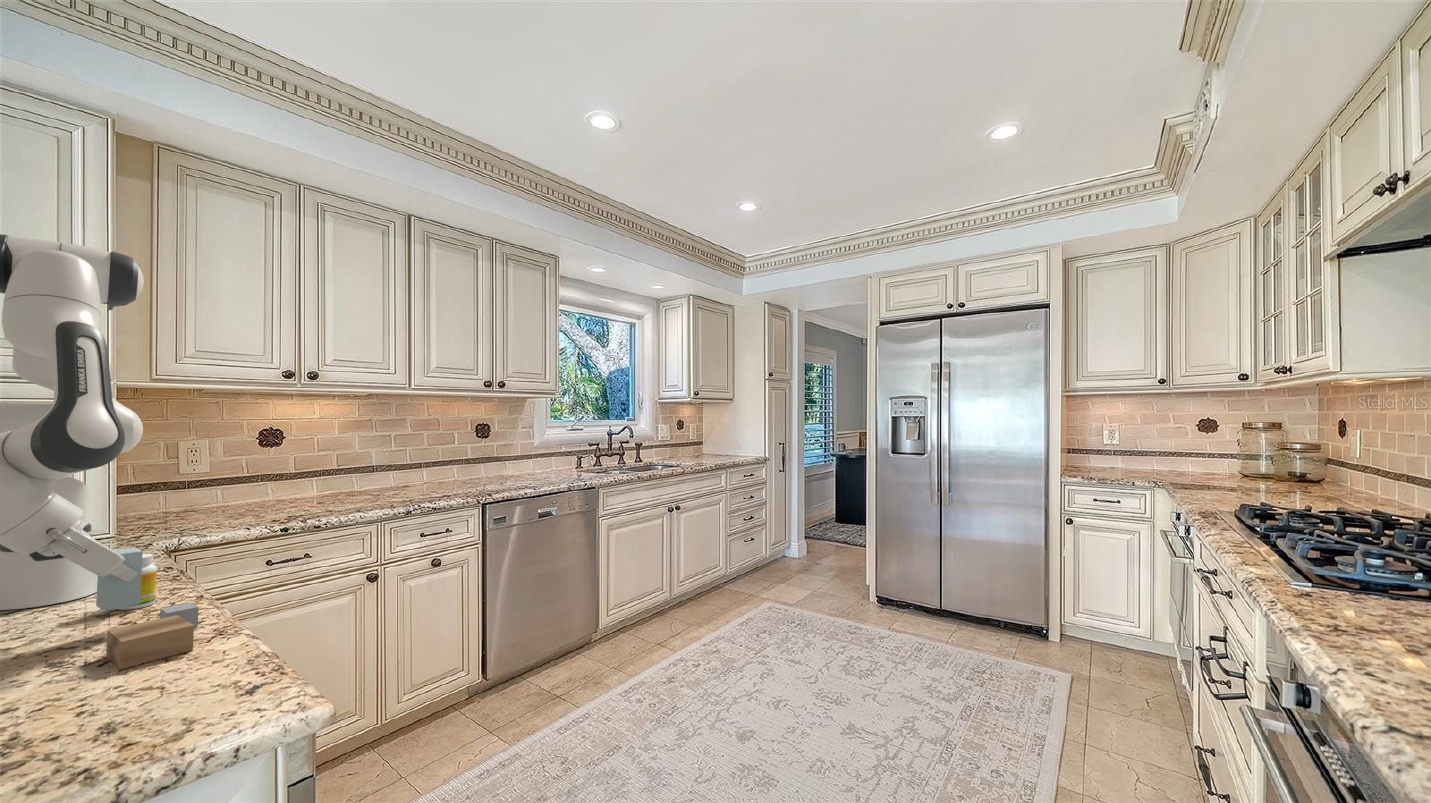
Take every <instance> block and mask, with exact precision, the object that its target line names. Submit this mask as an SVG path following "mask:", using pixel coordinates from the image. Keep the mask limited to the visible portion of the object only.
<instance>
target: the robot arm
mask: <svg viewBox="0 0 1431 803" xmlns="http://www.w3.org/2000/svg"><path fill="white" fill-rule="evenodd" d="M144 281H145V279H144V274H143V271H142V269H141V268H140V266H139V263H138V262H137V261H136V260H135V259H134V257H132V256H129V255H126V254H123V253H120V252H117V251H113V250H112V251H111V252H110V251H105V250H102V249H97V248H95V247H89V246H85V245H81V244H76V243H70V242H65V241H62V242H57V241H53V240H44V239H36V238H27V237H15V236H9V234H2V233H0V294H3V295H4V296H3V297H4V298H3V302H2V303H3V304H2V311H1V325H2V330H3V331H2V332H3V335H4V337H5V340H6V341H7V342H8V343H10V344H11V345H12V348H13V349H12V365H11V366H12V369H13V371H14V372H15V374H16V375H17V376H18V377H20V378H21V379H22V380H25V381H26V382H29V383H31V384H33V385H36V386H39V387H42V388H45V389H48V390H52V391H53V403H19V402H18V403H17V402H14V403H13V402H9V403H8V402H1V403H0V611H4V610H5V611H8V610H11V611H12V610H19V609H28V608H37V607H43V606H49V605H54V604H59V603H65V602H69V601H73V600H78V599H81V598H84V597H89V596H90V595H93V594H95V593H97V581H98V576H101V577H104V576H106V575H108V574H111V575H114V576H116V577H118V578H120V579H122V580H124V581H126V582H128V581H131V580H132V579H133V578H134V577H135V576H136V575H137V572H135V571H134V570H132V569H130V568H129V567H127V566H126V565H125V564H123V563H122V562H123V561H124V560H125V558H124V557H123V556H122V555H120V554H118V553H117V552H115V551H113V550H114V549H112V548H110V547H108V546H106V545H104V543H101V542H100V541H98V540H96V539H95V538H94V537H92V534H93V529H92V524H90V523H89V520H90V519H89V516H90V497H91V496H90V495H91V492H90V489H89V487H88V485H87V484H86V483H84V482H83V481H81V480H80V479H77V478H74V477H71V476H72V475H74V474H77V473H79V472H85V471H88V470H93V469H96V468H99V467H103V466H105V465H108V464H110V463H111V462H113V461H115V459H116V458H117V457H118V456H119V455H121V454H123V453H128V452H130V451H132V450H133V448H135V447H137V445H138V444H139V443H140V442H141V440H142V437H143V434H144V425H143V422H142V420H141V418H140V417H139V415H138V414H137V413H136V412H135V411H133V410H132V409H130V408H128V407H126V405H123V404H122V403H120V402H119V401H117V399H116V398H114V397H113V394H112V393H113V392H112V381H111V370H110V369H111V367H110V359H109V358H110V357H109V350H108V349H109V348H108V346H107V341H106V339H105V337H104V335H103V334H102V332H101V316H102V314H101V313H102V305H101V304H104V305H108V306H107V311H113V309H114V308H115V307H121V306H122V307H123V306H127V305H129V304H131V303H133V302H135V301H136V300H137V298H138V297H139V296H140V294H141V293H142V291H143V289H144V283H145V282H144Z"/></svg>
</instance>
